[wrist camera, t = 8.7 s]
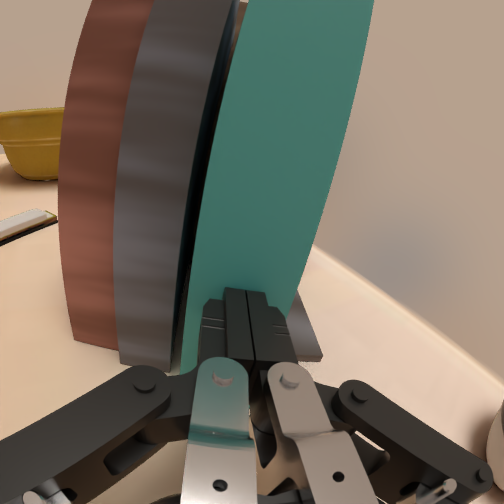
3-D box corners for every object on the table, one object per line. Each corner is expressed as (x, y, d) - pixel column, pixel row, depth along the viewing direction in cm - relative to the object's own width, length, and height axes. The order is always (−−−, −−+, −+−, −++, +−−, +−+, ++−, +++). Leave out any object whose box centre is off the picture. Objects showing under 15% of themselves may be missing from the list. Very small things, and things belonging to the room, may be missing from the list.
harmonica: (-43, 271, 15) (-47, 252, 14) (-49, 260, 16) (-53, 242, 15) (58, 226, 28) (57, 210, 27) (46, 219, 29) (45, 204, 28)
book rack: (341, 382, 17) (465, 2, 7) (63, 348, 14) (123, -92, 4) (295, 271, 31) (358, 41, 20) (125, 244, 27) (169, -2, 17)
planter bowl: (-47, 196, 26) (-47, 118, 21) (23, 158, 53) (27, 108, 48) (109, 201, 37) (119, 108, 32) (132, 162, 64) (140, 109, 59)
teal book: (250, 408, 14) (375, -8, 6) (177, 403, 13) (264, -47, 5) (232, 267, 28) (280, 60, 20) (192, 261, 28) (234, 49, 19)
